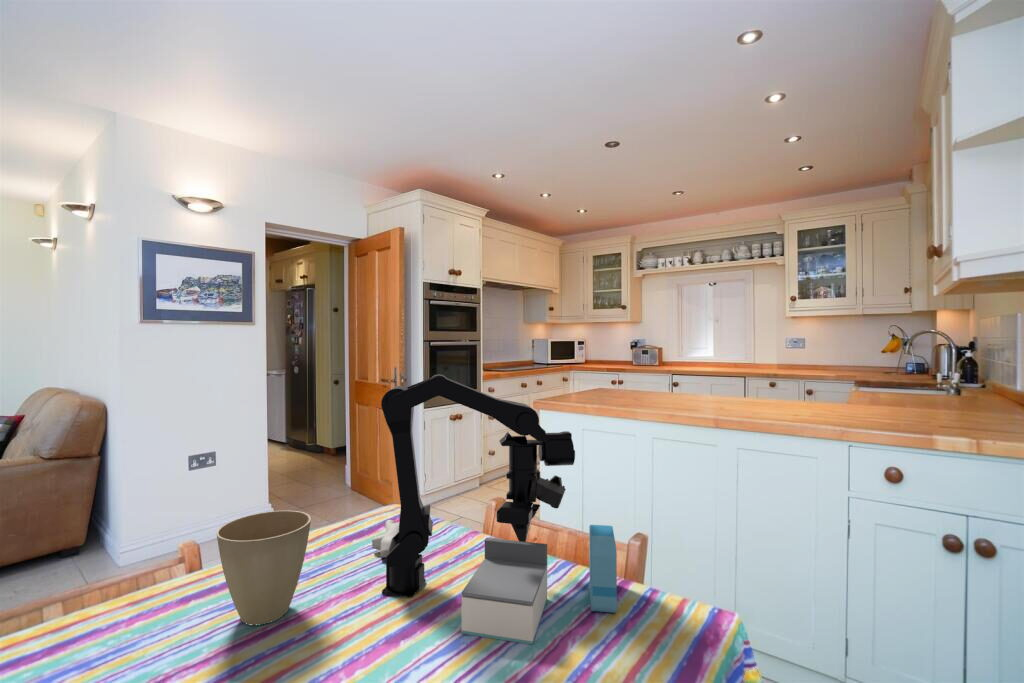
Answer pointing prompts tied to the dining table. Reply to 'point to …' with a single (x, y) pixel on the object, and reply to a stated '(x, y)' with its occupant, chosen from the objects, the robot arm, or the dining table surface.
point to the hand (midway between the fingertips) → (522, 543)
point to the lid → (509, 571)
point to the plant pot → (263, 562)
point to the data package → (602, 569)
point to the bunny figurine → (385, 538)
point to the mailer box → (504, 617)
